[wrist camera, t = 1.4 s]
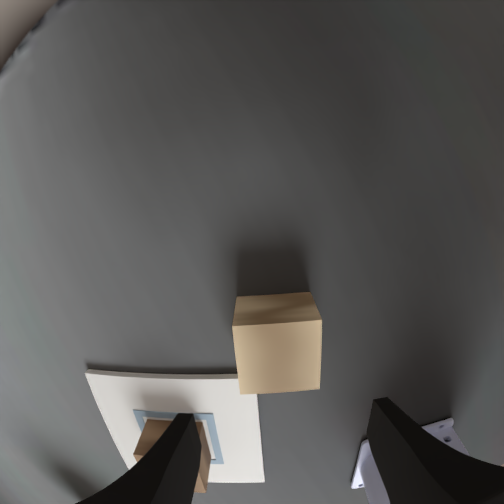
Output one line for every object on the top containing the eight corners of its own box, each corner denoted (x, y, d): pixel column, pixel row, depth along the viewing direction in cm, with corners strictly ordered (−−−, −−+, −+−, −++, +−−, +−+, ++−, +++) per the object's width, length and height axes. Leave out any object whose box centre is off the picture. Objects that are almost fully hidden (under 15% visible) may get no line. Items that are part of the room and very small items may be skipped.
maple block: (310, 291, 19) (322, 319, 16) (309, 352, 21) (319, 388, 17) (236, 296, 20) (232, 326, 16) (242, 357, 21) (240, 394, 17)
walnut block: (202, 421, 21) (194, 460, 18) (211, 456, 23) (206, 492, 19) (147, 419, 22) (132, 454, 18) (160, 453, 23) (150, 487, 19)
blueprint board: (255, 372, 21) (255, 378, 20) (264, 477, 24) (264, 482, 23) (88, 369, 21) (84, 373, 21) (133, 470, 24) (131, 474, 24)
